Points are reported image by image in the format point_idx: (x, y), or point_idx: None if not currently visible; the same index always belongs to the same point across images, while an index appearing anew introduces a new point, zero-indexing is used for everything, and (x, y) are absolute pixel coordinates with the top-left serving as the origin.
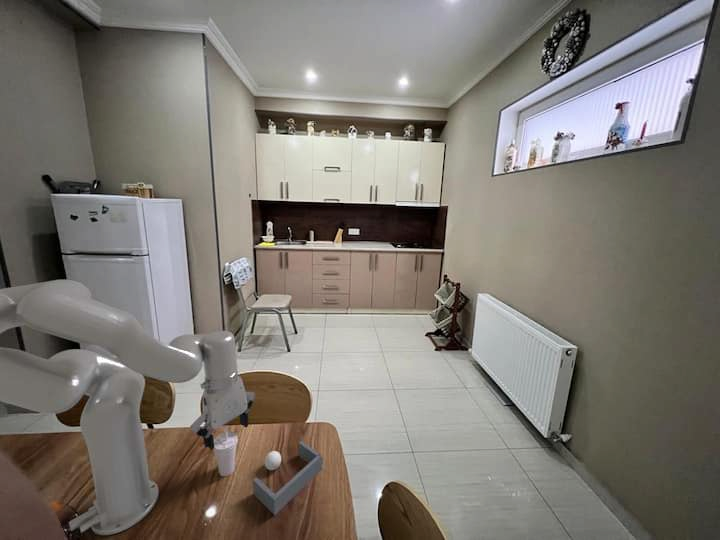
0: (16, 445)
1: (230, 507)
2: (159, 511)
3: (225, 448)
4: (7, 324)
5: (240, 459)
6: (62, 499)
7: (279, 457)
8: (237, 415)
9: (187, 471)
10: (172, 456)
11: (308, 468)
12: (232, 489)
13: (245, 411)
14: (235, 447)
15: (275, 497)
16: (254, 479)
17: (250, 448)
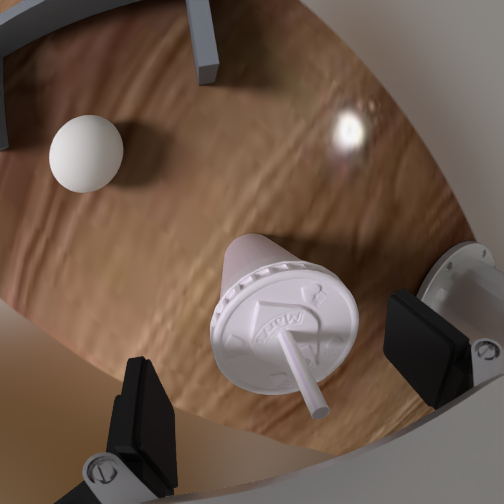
0: None
1: (299, 96)
2: (430, 241)
3: (318, 273)
4: None
5: (190, 277)
6: None
7: (58, 131)
8: (266, 497)
9: None
10: (346, 395)
11: (21, 2)
12: (267, 159)
13: (126, 483)
14: (234, 280)
15: None
16: (213, 59)
17: (140, 304)
